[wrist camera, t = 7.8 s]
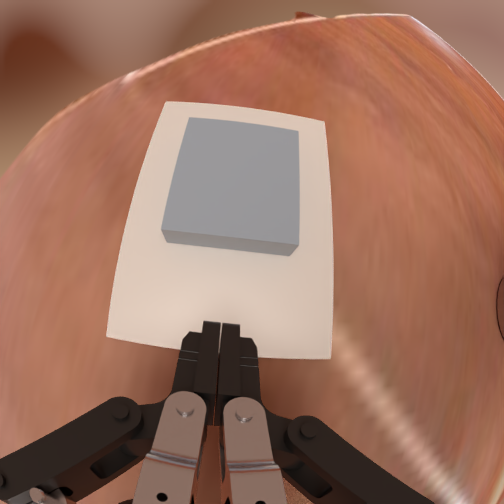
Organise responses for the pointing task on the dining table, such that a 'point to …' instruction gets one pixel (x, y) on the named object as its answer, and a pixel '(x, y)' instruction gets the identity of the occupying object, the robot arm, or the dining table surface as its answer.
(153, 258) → the board
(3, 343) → the dining table surface
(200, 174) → the tile
